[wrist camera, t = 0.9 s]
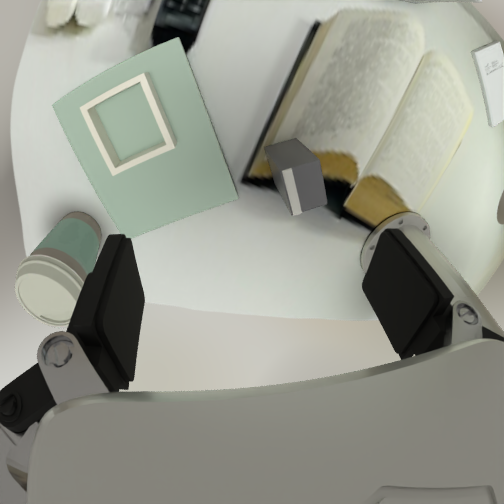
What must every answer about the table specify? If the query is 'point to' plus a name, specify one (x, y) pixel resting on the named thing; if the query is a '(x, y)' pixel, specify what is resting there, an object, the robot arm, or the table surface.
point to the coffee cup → (58, 270)
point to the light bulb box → (424, 0)
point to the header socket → (103, 139)
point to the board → (150, 143)
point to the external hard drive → (491, 79)
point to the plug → (296, 175)
